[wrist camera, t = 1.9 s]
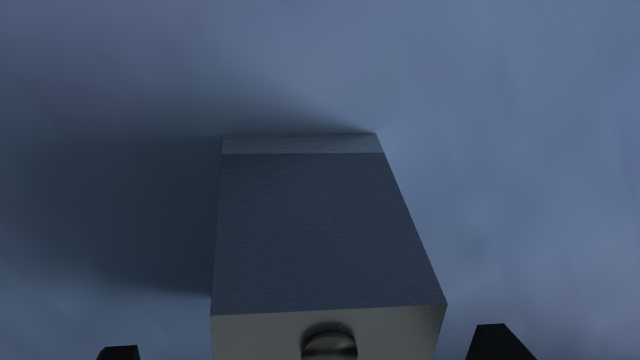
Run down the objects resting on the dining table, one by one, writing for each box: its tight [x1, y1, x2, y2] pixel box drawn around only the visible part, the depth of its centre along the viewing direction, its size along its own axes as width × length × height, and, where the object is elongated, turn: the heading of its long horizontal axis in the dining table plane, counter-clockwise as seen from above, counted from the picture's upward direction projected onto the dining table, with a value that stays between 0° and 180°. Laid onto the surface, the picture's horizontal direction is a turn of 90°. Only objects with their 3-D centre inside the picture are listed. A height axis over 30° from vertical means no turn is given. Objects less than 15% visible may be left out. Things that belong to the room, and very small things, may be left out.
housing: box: [210, 134, 448, 360], centre depth 13 cm, size 4×6×6 cm, turn 176°
